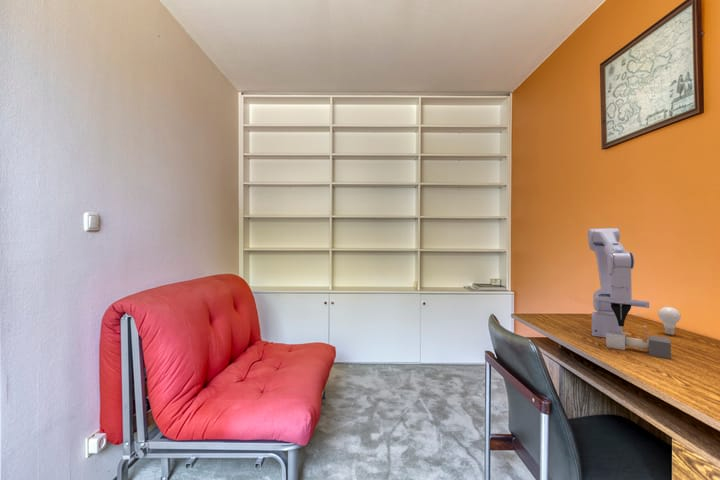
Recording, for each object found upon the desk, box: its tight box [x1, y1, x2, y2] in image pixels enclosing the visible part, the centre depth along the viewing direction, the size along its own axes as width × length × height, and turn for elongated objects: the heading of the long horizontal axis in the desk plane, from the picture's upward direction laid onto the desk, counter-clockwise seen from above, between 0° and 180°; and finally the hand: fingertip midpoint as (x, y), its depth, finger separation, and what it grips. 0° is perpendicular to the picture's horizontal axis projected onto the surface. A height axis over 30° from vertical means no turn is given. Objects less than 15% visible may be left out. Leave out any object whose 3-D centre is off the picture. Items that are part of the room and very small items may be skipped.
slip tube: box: [625, 325, 649, 351], centre depth 104 cm, size 11×3×8 cm, turn 47°
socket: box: [648, 334, 672, 360], centre depth 101 cm, size 5×7×5 cm
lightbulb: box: [657, 306, 682, 336], centre depth 122 cm, size 6×6×11 cm
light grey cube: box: [605, 330, 627, 351], centre depth 109 cm, size 5×5×5 cm
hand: (621, 325), depth 108 cm, fingers closed
